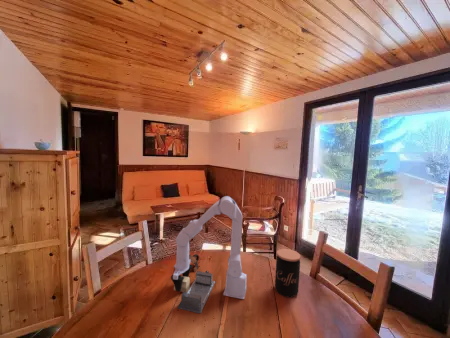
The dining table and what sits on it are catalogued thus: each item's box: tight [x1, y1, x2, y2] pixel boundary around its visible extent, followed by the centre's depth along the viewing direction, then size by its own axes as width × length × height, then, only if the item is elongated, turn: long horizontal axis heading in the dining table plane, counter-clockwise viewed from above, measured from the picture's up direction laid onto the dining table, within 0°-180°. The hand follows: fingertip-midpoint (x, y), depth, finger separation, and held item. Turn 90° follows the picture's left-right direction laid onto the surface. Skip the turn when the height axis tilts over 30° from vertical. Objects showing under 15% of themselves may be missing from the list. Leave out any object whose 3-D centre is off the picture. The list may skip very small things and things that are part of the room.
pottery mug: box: [189, 253, 200, 273], centre depth 110 cm, size 12×10×8 cm
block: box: [173, 275, 191, 293], centre depth 92 cm, size 6×4×5 cm, turn 77°
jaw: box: [195, 270, 213, 285], centre depth 98 cm, size 8×7×4 cm
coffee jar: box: [274, 248, 301, 298], centre depth 94 cm, size 11×11×18 cm
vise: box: [177, 278, 216, 315], centre depth 89 cm, size 10×20×5 cm, turn 167°
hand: (181, 285), depth 92 cm, fingers open, 7 cm apart
